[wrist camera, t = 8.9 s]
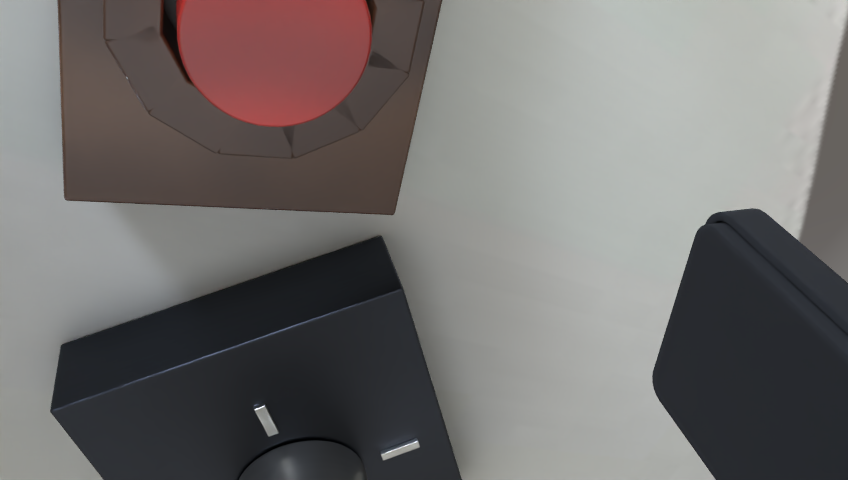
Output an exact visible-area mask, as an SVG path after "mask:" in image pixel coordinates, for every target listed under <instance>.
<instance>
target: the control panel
mask: <svg viewBox="0 0 848 480" xmlns="http://www.w3.org/2000/svg"><path fill="white" fill-rule="evenodd" d="M50 412H51V413H52V415H53V416H54V417H55V418H56V420H57V421H58V422H59V423H60V425H61V426H62V427H63V428H64V430H65V431H66V432H67V434H68V435H69V436H70V437H71V439H72V440H73V441H74V442H75V444H76V445H77V446H78V448H79V449H80V450H81V451H82V453H83V454H84V455H85V456H86V458H87V459H88V460H89V461H90V463H91V464H92V465H93V467H94V468H95V469H96V470H97V472H98V473H99V474H100V475H101V477H102V478H103V479H104V480H239V478H240V476H241V475H242V473H243V472H244V471H245V469H246V468H247V467H248V466H249V465H250V464H251V463H253V462H254V461H255V460H256V459H258V458H259V457H261V456H262V455H264V454H265V453H267V452H269V451H271V450H273V449H276V448H278V447H280V446H283V445H287V444H290V443H295V442H300V441H309V440H321V441H329V442H334V443H338V444H341V445H343V446H345V447H347V448H349V449H351V450H352V451H353V452H354V453H356V454H357V456H358V457H359V458H360V459H361V461H362V463H363V465H364V468H365V472H366V475H367V479H368V480H462V479H461V475H460V472H459V469H458V466H457V462H456V459H455V456H454V453H453V449H452V446H451V443H450V440H449V436H448V433H447V430H446V427H445V423H444V420H443V417H442V414H441V410H440V407H439V404H438V400H437V397H436V394H435V391H434V387H433V384H432V381H431V378H430V374H429V371H428V368H427V365H426V361H425V358H424V355H423V352H422V348H421V345H420V342H419V338H418V335H417V332H416V329H415V325H414V322H413V319H412V316H411V312H410V309H409V306H408V303H407V299H406V296H405V293H404V290H403V287H402V284H401V282H400V279H399V277H398V274H397V272H396V269H395V267H394V265H393V262H392V260H391V257H390V255H389V252H388V250H387V247H386V245H385V242H384V240H383V237H382V236H379V237H376V238H373V239H370V240H367V241H364V242H362V243H359V244H356V245H353V246H350V247H347V248H344V249H341V250H338V251H335V252H332V253H329V254H326V255H323V256H321V257H318V258H315V259H312V260H309V261H306V262H303V263H300V264H297V265H294V266H291V267H288V268H285V269H283V270H280V271H277V272H274V273H271V274H268V275H265V276H262V277H259V278H256V279H253V280H250V281H247V282H244V283H242V284H239V285H236V286H233V287H230V288H227V289H224V290H221V291H218V292H215V293H212V294H209V295H206V296H204V297H201V298H198V299H195V300H192V301H189V302H186V303H183V304H180V305H177V306H174V307H171V308H168V309H165V310H163V311H160V312H157V313H154V314H151V315H148V316H145V317H142V318H139V319H136V320H133V321H130V322H127V323H125V324H122V325H119V326H116V327H113V328H110V329H107V330H104V331H101V332H98V333H95V334H92V335H89V336H87V337H84V338H81V339H78V340H75V341H72V342H69V343H66V344H63V345H61V349H60V355H59V361H58V367H57V373H56V379H55V385H54V391H53V397H52V403H51V409H50Z"/></svg>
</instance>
